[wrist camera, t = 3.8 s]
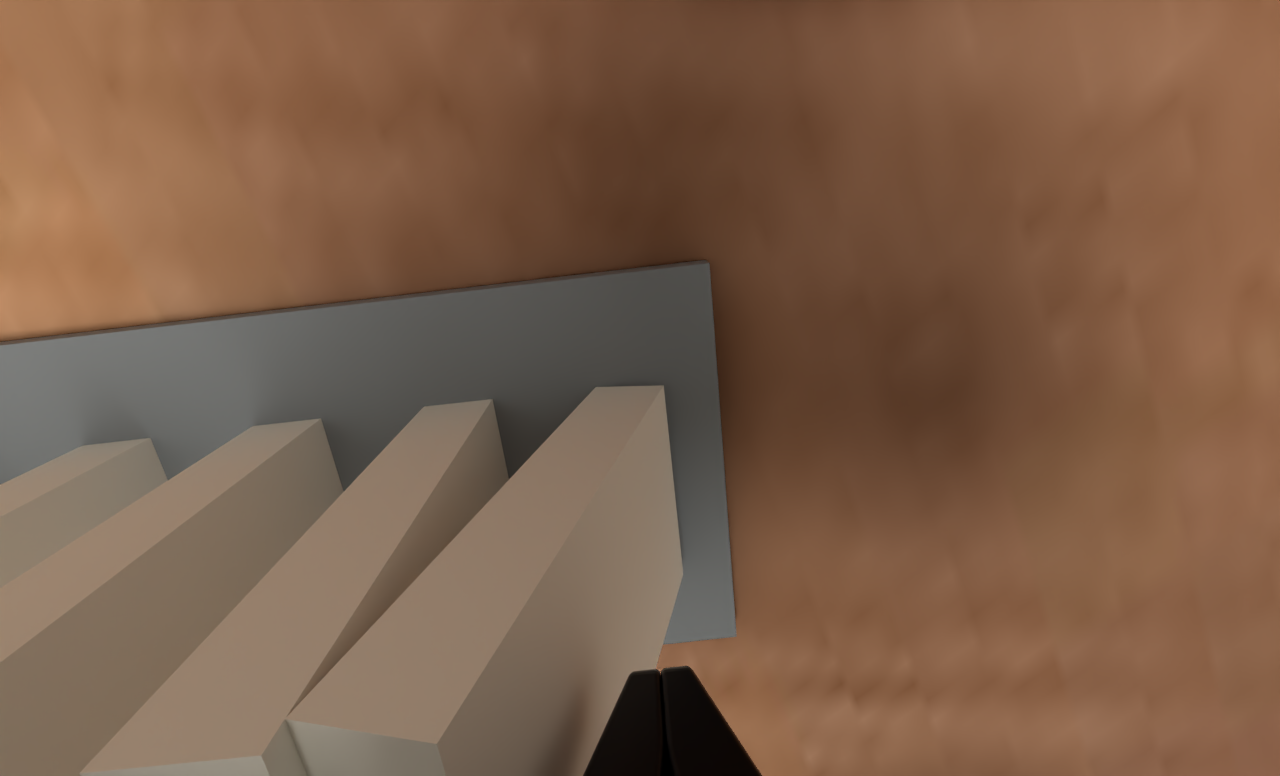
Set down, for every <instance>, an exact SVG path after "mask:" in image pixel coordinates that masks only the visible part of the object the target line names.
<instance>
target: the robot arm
mask: <svg viewBox="0 0 1280 776" xmlns="http://www.w3.org/2000/svg"><path fill="white" fill-rule="evenodd" d="M583 776H762V775H761V773H760V772H759V770H758V769H757V767H756V766H755V764H754V763H753V761H752V760H751V758H750V757H749V755H748V753H747V752H746V750H745V749H744V747H743V746H742V744H741V743H740V741H739V740H738V738H737V737H736V735H735V734H734V732H733V731H732V729H731V728H730V726H729V725H728V723H727V722H726V720H725V718H724V717H723V715H722V714H721V712H720V711H719V709H718V708H717V706H716V705H715V703H714V702H713V700H712V699H711V697H710V696H709V694H708V693H707V691H706V690H705V688H704V687H703V685H702V683H701V682H700V680H699V679H698V677H697V676H696V674H695V673H694V671H693V670H692V669H691V668H690V667H688V666H681V667H670V668H664V669H663V670H662V671H661V675H660V672H659V671H658V670H657V669H650V670H641V671H633V672H632V673H630V675H629V676H628V678H627V680H626V682H625V685H624V687H623V689H622V691H621V693H620V696H619V698H618V700H617V702H616V704H615V707H614V709H613V711H612V713H611V715H610V717H609V720H608V722H607V724H606V726H605V728H604V731H603V733H602V735H601V737H600V739H599V742H598V744H597V746H596V748H595V750H594V752H593V755H592V757H591V759H590V761H589V763H588V766H587V768H586V770H585V772H584V774H583Z"/></svg>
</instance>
